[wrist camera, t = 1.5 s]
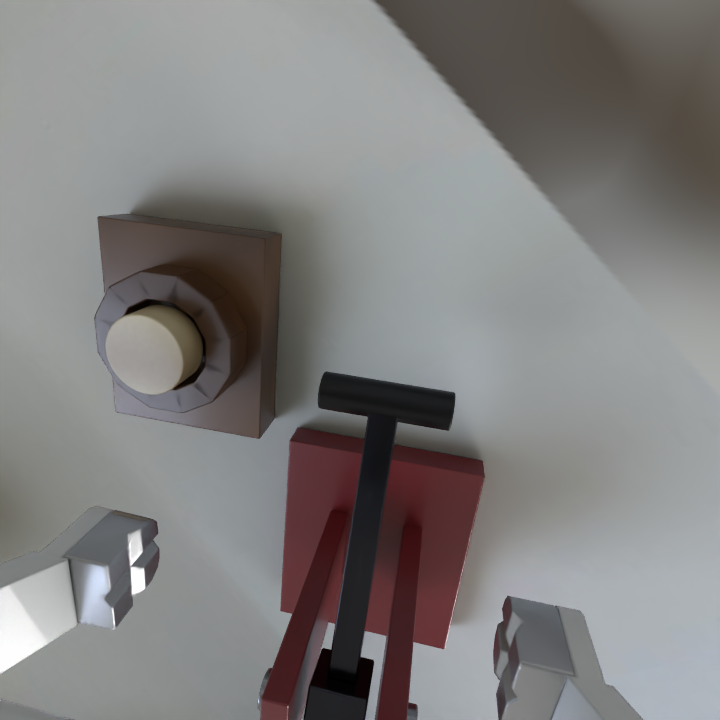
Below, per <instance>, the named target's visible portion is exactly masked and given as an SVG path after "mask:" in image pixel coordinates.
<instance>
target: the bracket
mask: <svg viewBox="0 0 720 720" xmlns="http://www.w3.org/2000/svg"><path fill="white" fill-rule="evenodd" d="M363 446H364V439H360V438H354V437H349V436H343V435H338V434H332V433H327V432H321V431H316V430H310V429H305V428H297V430H296V432H295V433H294V435H293V436H292V438H291V440H290V445H289V464H288V482H287V500H286V518H285V536H284V555H283V573H282V591H281V609H280V610H281V611H283V612H287V613H291V614H292V616H291V619H290V622H289V625H288V627H287V630H286V633H285V635H284V638H283V641H282V644H281V646H280V649H279V652H278V654H277V657H276V660H275V662H274V665H273V668H269V669H268V670H267V672H266V674H265V676H264V679H263V682H262V685H261V689H260V693H259V698H258V709H259V710H261V718H260V720H301V718H302V715H303V711H304V708H305V704H306V700H307V694H308V688H309V684H310V681H311V679H312V676H313V673H314V670H315V667H316V664H317V661H318V658H319V654H320V650H321V647H322V643H323V640H324V636H325V633H326V629H327V625H328V622H330V623H334V624H336V617H337V611H338V605H339V598H340V592H341V586H342V579H343V573H344V567H345V560H346V554H347V548H348V541H349V535H350V528H351V522H352V516H353V509H354V503H355V497H356V490H357V484H358V478H359V471H360V465H361V458H362V452H363ZM484 478H485V475H484V466H483V461H482V460H476V459H470V458H465V457H459V456H454V455H448V454H443V453H437V452H432V451H426V450H421V449H415V448H410V447H404V446H399V445H394V450H393V456H392V463H391V469H390V475H389V482H388V488H387V494H386V501H385V507H384V513H383V519H382V526H381V532H380V538H379V545H378V551H377V557H376V564H375V570H374V576H373V582H372V589H371V595H370V601H369V608H368V614H367V620H366V627H365V631H368V632H373V633H377V634H381V635H385V636H387V637H386V644H385V651H384V658H383V665H382V672H381V679H380V686H379V693H378V700H377V707H376V714H375V720H417V717H418V706H417V705H416V704H413V703H409V702H408V701H409V689H410V677H411V665H412V653H413V642H415V643H420V644H424V645H428V646H433V647H437V648H441V649H445V646H446V642H447V638H448V633H449V629H450V625H451V620H452V616H453V612H454V607H455V603H456V599H457V595H458V590H459V586H460V582H461V577H462V573H463V569H464V564H465V560H466V556H467V551H468V547H469V543H470V538H471V534H472V530H473V525H474V521H475V517H476V512H477V508H478V504H479V499H480V495H481V491H482V486H483V482H484Z"/></svg>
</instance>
